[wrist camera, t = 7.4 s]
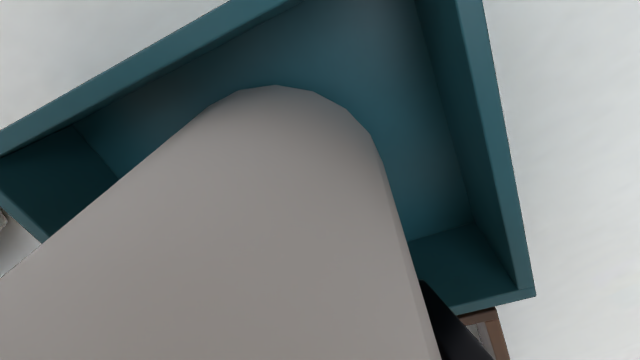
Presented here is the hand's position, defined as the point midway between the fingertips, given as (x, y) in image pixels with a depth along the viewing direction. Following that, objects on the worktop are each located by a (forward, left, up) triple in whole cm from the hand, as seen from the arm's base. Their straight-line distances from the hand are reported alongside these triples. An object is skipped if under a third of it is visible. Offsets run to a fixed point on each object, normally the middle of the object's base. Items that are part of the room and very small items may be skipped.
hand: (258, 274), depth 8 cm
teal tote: (0, 0, -6) cm, 6 cm away
